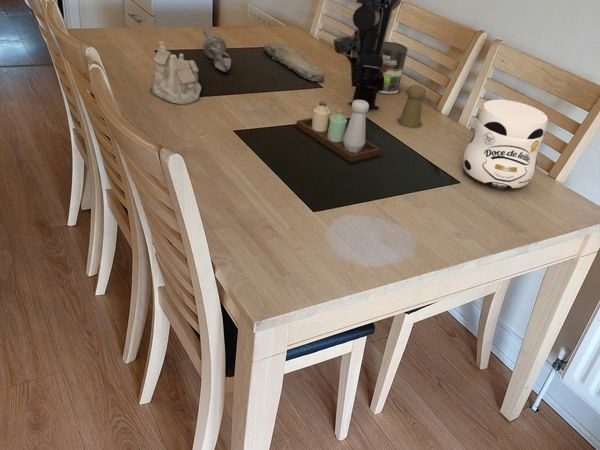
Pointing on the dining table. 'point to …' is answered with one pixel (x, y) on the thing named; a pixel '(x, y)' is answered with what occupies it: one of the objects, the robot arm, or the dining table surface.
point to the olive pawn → (413, 106)
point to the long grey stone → (294, 61)
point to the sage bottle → (337, 126)
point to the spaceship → (216, 50)
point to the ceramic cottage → (175, 77)
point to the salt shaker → (356, 127)
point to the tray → (338, 147)
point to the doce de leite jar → (505, 144)
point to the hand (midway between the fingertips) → (357, 87)
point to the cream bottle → (320, 117)
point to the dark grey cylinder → (392, 66)
